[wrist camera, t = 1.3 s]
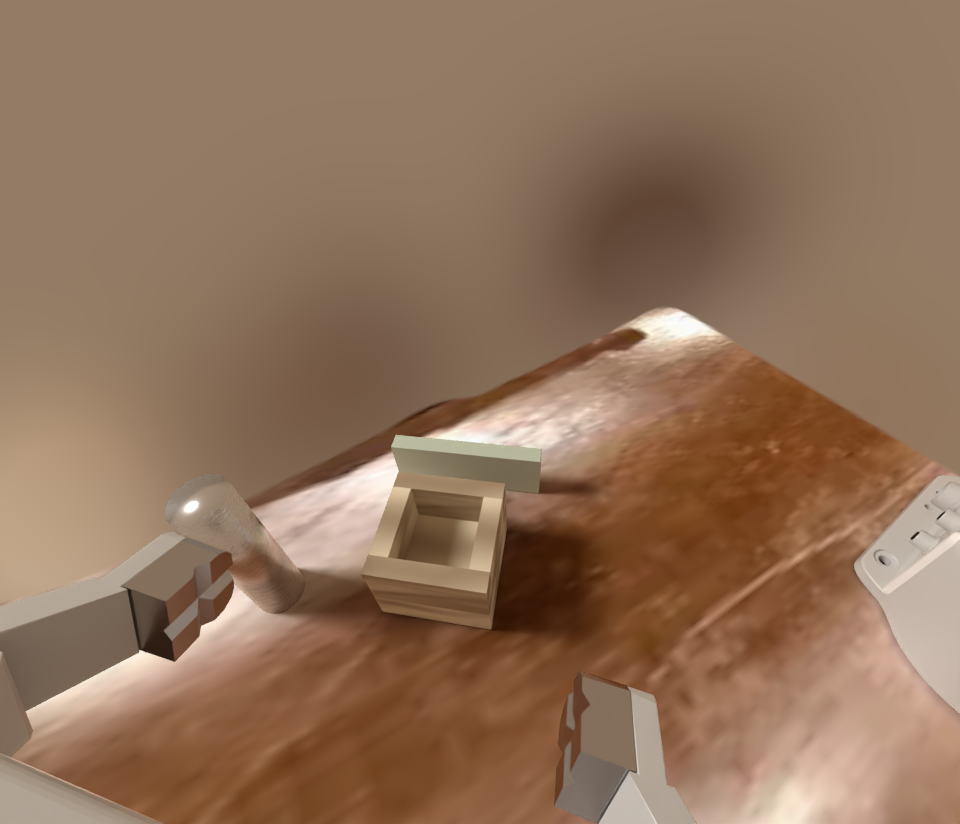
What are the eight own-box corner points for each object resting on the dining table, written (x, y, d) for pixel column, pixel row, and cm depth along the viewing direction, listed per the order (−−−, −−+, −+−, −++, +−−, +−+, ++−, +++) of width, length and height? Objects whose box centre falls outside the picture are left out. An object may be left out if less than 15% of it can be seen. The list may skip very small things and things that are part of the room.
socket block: (491, 629, 36) (486, 593, 31) (382, 611, 37) (361, 574, 32) (507, 527, 42) (505, 483, 37) (412, 515, 43) (398, 471, 38)
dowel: (289, 558, 41) (215, 464, 31) (313, 588, 39) (241, 497, 29) (248, 590, 40) (155, 501, 30) (270, 623, 38) (178, 539, 27)
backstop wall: (538, 493, 44) (540, 462, 41) (401, 477, 47) (391, 446, 43) (539, 480, 46) (541, 449, 42) (405, 466, 48) (395, 434, 44)
